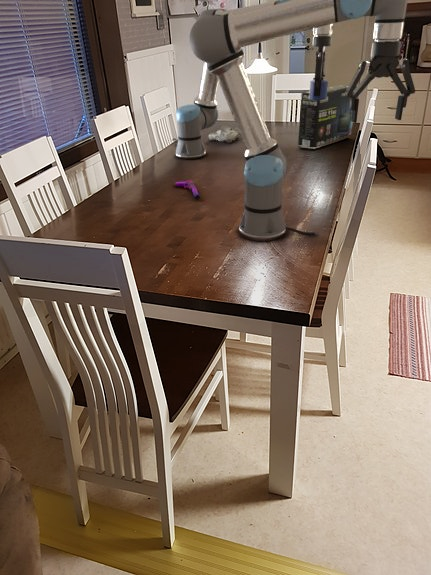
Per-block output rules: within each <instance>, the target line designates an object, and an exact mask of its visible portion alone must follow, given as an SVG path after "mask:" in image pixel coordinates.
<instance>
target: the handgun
mask: <svg viewBox="0 0 431 575" xmlns="http://www.w3.org/2000/svg"><path fill="white" fill-rule="evenodd" d="M174 187H176V188H178V187H184V189H188V190H189V192H192V193H193V196H194V199H195V200H196V201H198V200H200V194H199V192H198V189H197V188H196V186H195V183H194V181H193V180H192V179H191V180H186V181H174Z"/></svg>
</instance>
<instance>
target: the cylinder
mask: <svg viewBox="0 0 431 575" xmlns="http://www.w3.org/2000/svg"><path fill="white" fill-rule="evenodd" d="M314 85H315V80H313V79H312V80H310V82H309V91H310V93H309V99H310V100H326V99H327V89H328V87H329V80H326V79H323V80H321V92H320V96H314Z"/></svg>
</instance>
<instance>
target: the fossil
mask: <svg viewBox="0 0 431 575" xmlns="http://www.w3.org/2000/svg"><path fill="white" fill-rule="evenodd" d="M238 135H240V133H239V130H238V128H237V127H236V128H235V127H234V128H232V127H231V126H228V125H222V126H221V128H220V129H218V130H217V131H216V132H214V131H213V132H210V133H209V134H208V139H209V140H210V141H217V140H218V141H217V142H225V143H227V144H229V143H232V142H233V141H235V140H236V139H237V138H238V137H239V136H238ZM240 136H241V135H240ZM235 138H236V139H235ZM232 140H233V141H232Z"/></svg>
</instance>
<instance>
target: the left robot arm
mask: <svg viewBox="0 0 431 575" xmlns="http://www.w3.org/2000/svg"><path fill="white" fill-rule="evenodd" d="M287 1H291V0H274V1H268V2H262V3H259V4H252V5H249V6H242V7H238V8H233V9H225V8H213V9H211V8H209V9H206V10H203V11H202V12H201V13H200V14H199V16H197V20H199V19H200V18H202V17H205V16H213V15H216V14H218V15H224V14H228V13H232V14H233V15H234V16H237V15H241V14H244V13H248V12H251V11H255V10H259V9H262V8H266V7H269V6H273V5H277V4H280V3H284V2H287ZM333 24H334V23H333ZM333 24H329V25H325V26H322V27H318V28H314V29H313V30H312V31H313V33H312V34H313V35H314V36H313V37H312V47H314V48H315V47H317V50H316V52H315V68H314V69H315V70H314V77H313V78H312V81H313V80H315V85H314V96H320V92H321V80H324V78H325V77H326V74H325V65H326V63H325V62H326V56H327V50H326V47H331V45H332V40H333V39H332V36H331V35H332V34H333V29H334V28H335V26H334V25H333ZM218 86H219V81H218V79H217V76H215V75H214V74H211V73H210V72H209V70H208V68H207V65H206V63H205V62H204V61H203V64H202V70H201V76H200V81H199V89H198V94H197V96H195V97H194V100H193V104H186V105H181V106H179V107H178V108H177V109H176V111H175V112H176V113H175V119H176V128H177V139H176V138H172V139H171V140H172V141H173V142H174V141H175V146H176V149H175V157H176V158H177V159H182V160H196V159H201V158H204V157H205V156H206V155H207V149H206V148H205V145H204V143H203V142H204V141H203V140H202V131H204V130H205V129H208V128H211V127H212V126H213V125H214V124H216V123H217V121H218V119H219V110H218V107H217V106H218V102H217V101H216V95H217V90H218Z"/></svg>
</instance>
